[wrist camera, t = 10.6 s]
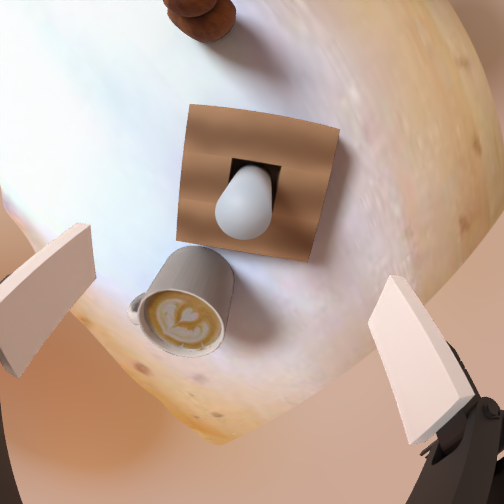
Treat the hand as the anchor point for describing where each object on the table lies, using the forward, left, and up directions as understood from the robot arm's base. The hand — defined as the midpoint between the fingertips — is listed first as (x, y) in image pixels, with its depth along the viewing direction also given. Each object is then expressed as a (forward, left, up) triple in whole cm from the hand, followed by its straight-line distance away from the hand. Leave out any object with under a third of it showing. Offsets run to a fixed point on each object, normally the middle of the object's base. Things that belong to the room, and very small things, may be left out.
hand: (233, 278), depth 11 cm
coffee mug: (+15, -7, -23) cm, 28 cm away
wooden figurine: (-18, -8, -23) cm, 30 cm away
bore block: (0, 0, -22) cm, 22 cm away
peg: (0, 0, -21) cm, 21 cm away
